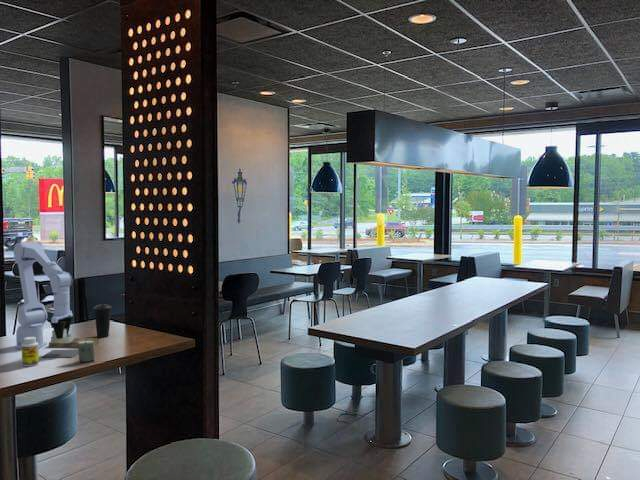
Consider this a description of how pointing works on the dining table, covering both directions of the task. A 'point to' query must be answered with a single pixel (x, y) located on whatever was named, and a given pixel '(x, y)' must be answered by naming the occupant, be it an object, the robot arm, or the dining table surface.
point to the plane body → (73, 342)
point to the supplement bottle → (30, 352)
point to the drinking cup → (102, 319)
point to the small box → (86, 351)
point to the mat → (61, 354)
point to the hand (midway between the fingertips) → (62, 336)
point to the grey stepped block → (66, 338)
